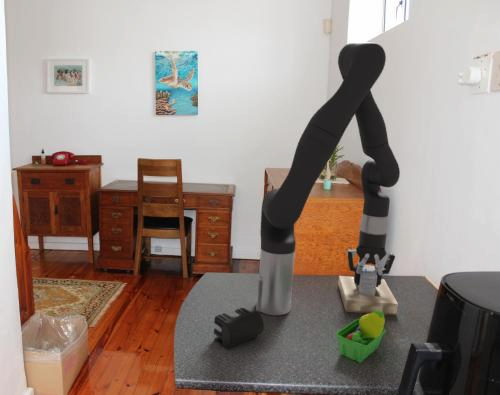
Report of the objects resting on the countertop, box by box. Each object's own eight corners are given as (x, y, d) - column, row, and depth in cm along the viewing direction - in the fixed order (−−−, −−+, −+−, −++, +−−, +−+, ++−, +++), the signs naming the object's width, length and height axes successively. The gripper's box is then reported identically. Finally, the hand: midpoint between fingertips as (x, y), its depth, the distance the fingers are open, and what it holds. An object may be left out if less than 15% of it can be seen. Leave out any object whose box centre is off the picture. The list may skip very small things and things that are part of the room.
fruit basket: (355, 336, 113) (360, 294, 111) (389, 350, 108) (395, 306, 105) (332, 354, 105) (337, 308, 102) (368, 370, 99) (374, 322, 97)
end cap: (229, 354, 102) (231, 326, 101) (211, 340, 108) (213, 314, 106) (263, 341, 108) (265, 315, 107) (244, 329, 114) (246, 304, 112)
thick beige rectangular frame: (345, 311, 127) (346, 299, 126) (338, 286, 144) (339, 275, 144) (396, 315, 126) (398, 304, 125) (382, 289, 144) (384, 279, 143)
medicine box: (373, 303, 131) (378, 275, 129) (358, 301, 131) (361, 273, 130) (371, 292, 138) (375, 265, 137) (356, 290, 139) (360, 263, 137)
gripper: (350, 231, 127) (343, 288, 131) (402, 235, 127) (394, 292, 130) (346, 224, 135) (340, 278, 138) (395, 228, 134) (388, 282, 137)
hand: (366, 284), depth 134 cm, fingers open, 5 cm apart
